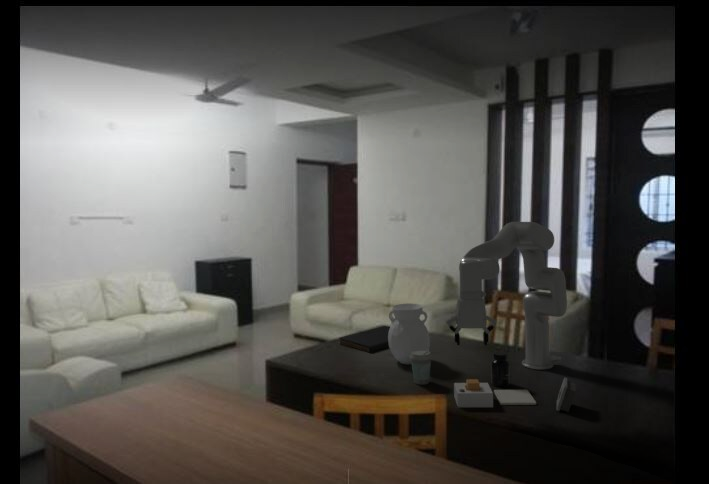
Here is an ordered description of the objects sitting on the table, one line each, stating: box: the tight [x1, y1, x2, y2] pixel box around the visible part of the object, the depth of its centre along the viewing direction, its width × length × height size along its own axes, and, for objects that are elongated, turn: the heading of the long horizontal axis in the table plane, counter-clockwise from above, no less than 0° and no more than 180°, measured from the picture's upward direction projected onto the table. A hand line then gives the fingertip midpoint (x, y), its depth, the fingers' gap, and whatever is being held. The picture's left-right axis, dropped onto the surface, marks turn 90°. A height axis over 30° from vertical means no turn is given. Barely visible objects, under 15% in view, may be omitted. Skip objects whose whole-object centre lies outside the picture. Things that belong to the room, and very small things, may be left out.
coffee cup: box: [410, 350, 433, 386], centre depth 200 cm, size 9×8×12 cm
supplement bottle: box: [490, 351, 511, 388], centre depth 195 cm, size 7×7×12 cm
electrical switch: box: [556, 377, 576, 413], centre depth 171 cm, size 9×5×9 cm, turn 158°
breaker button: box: [465, 378, 481, 391], centre depth 179 cm, size 4×4×4 cm
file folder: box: [338, 325, 391, 354], centre depth 261 cm, size 33×4×24 cm
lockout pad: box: [493, 389, 537, 406], centre depth 181 cm, size 12×12×1 cm
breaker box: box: [453, 382, 494, 408], centre depth 179 cm, size 12×10×5 cm
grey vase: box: [388, 303, 431, 365], centre depth 226 cm, size 19×18×25 cm
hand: (471, 344), depth 178 cm, fingers open, 9 cm apart
